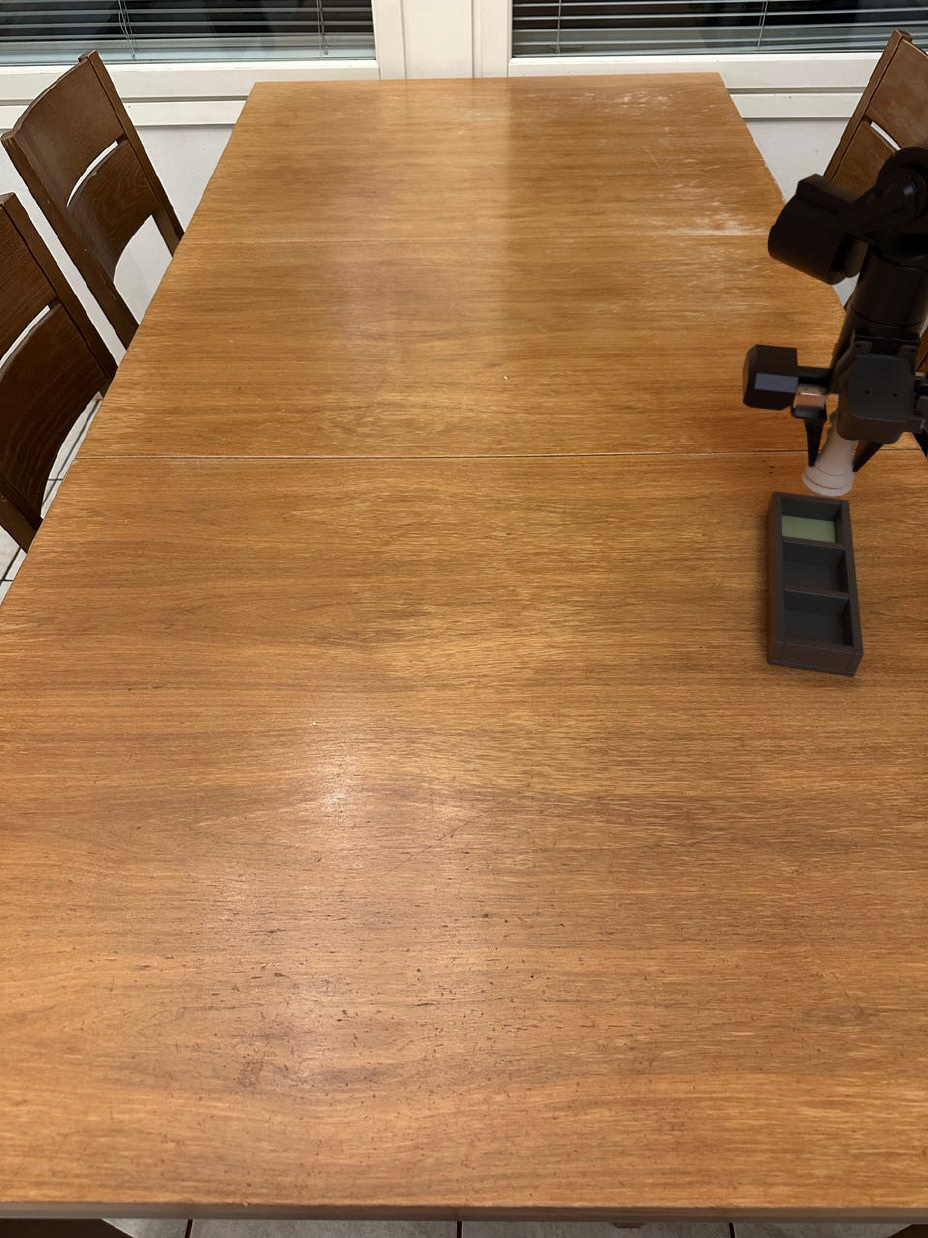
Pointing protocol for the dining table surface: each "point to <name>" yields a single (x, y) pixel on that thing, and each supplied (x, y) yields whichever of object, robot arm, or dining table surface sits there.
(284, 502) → the dining table surface
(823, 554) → the rack
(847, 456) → the rook chess piece
